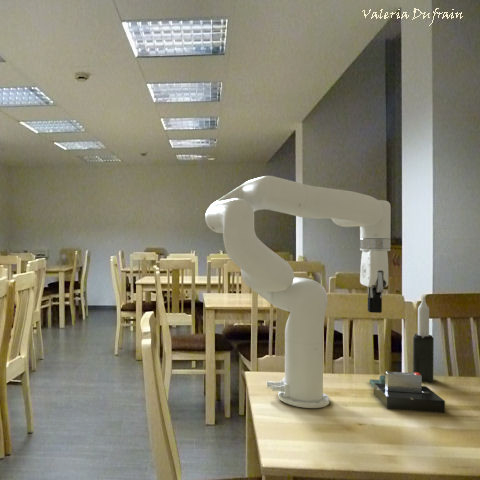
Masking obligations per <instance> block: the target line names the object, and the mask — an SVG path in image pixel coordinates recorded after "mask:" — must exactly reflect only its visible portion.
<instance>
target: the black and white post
mask: <svg viewBox="0 0 480 480" xmlns="http://www.w3.org/2000/svg"><path fill="white" fill-rule="evenodd" d="M434 343H435V342H434V337H433V335H431V334H430V307H429V306H428V304H427V302H426V297H425V296H422V297H421V302H420V304H419V306H418V307H417V333H414V335H413V337H412V373H414V372H417V373H419V374H421V376H422V383H427V384H433V383H434V347H435V346H434Z"/></svg>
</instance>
